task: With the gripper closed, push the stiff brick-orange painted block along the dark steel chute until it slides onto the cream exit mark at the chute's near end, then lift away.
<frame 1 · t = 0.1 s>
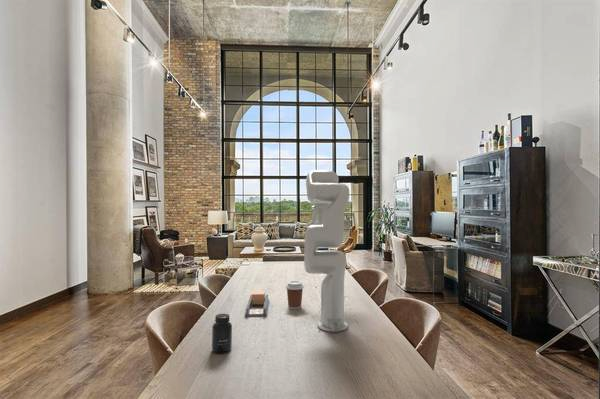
hand: (320, 239, 183), 31 cm above the table, tool pointing down, fingers open, 9 cm apart
coffee cup: (294, 307, 163), on the table
jammed block: (258, 297, 166), point 4 cm above the table, slide at 0.0 cm
steel chute: (257, 308, 161), on the table
supplement bottle: (221, 350, 116), on the table
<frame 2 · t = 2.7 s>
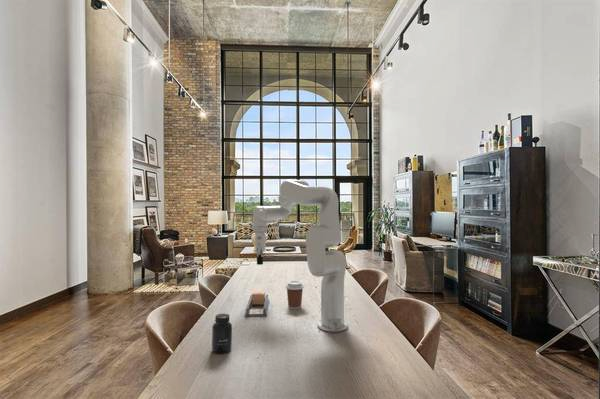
hand: (259, 264, 175), 19 cm above the table, tool pointing down, fingers closed
nothing on the table moved.
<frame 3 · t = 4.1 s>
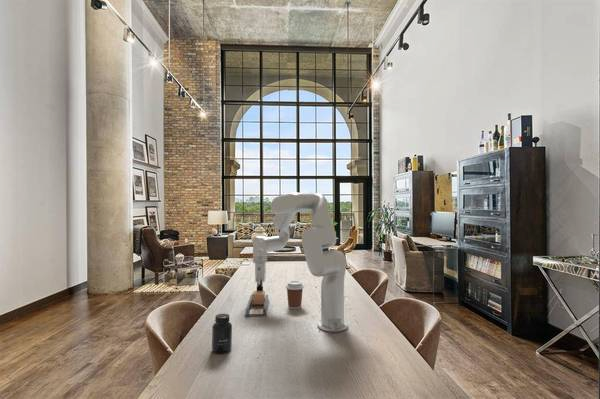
hand: (259, 294, 175), 3 cm above the table, tool pointing down, fingers closed
nothing on the table moved.
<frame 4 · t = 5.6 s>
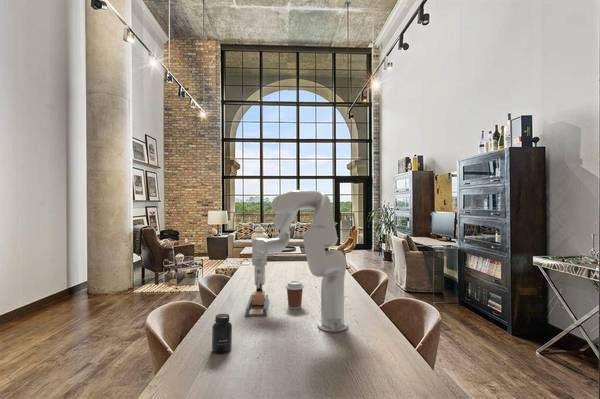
hand: (259, 297, 170), 3 cm above the table, tool pointing down, fingers closed
jammed block: (258, 298, 165), point 4 cm above the table, slide at 1.0 cm, touching gripper
everything else where it was.
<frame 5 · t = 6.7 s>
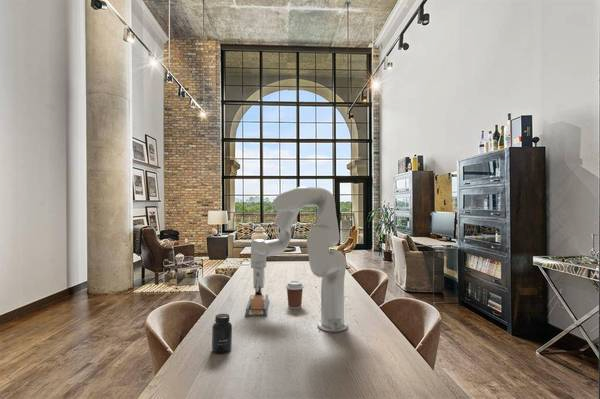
hand: (258, 301, 164), 3 cm above the table, tool pointing down, fingers closed
jammed block: (257, 302, 158), point 4 cm above the table, slide at 7.4 cm, touching gripper
everything else where it was.
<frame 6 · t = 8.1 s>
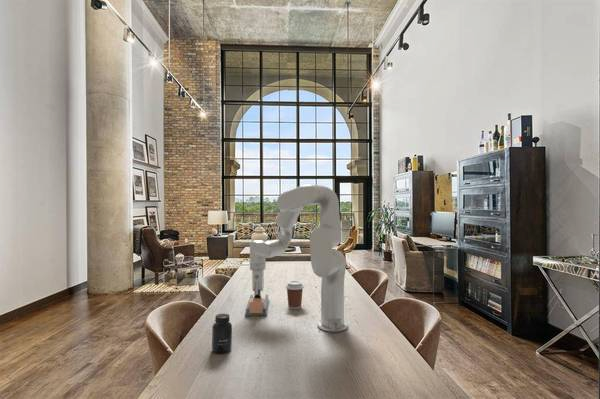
hand: (257, 304, 159), 3 cm above the table, tool pointing down, fingers closed
jammed block: (256, 305, 153), point 4 cm above the table, slide at 12.4 cm, touching gripper
everything else where it was.
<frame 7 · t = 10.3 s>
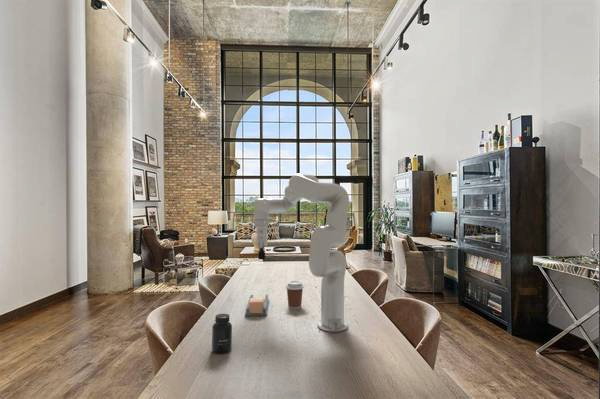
hand: (261, 259, 168), 23 cm above the table, tool pointing down, fingers closed
jammed block: (256, 305, 153), point 4 cm above the table, slide at 12.5 cm
everything else where it was.
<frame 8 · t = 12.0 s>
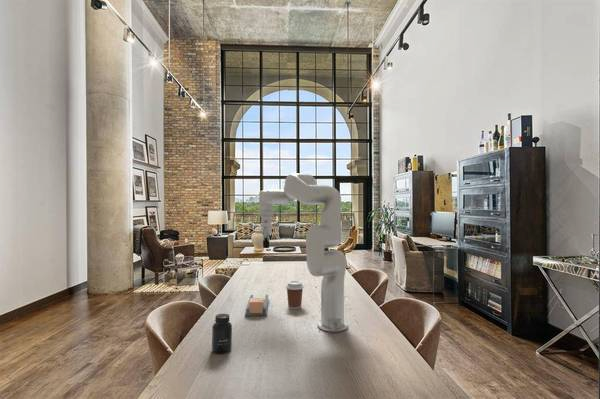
hand: (266, 247, 177), 27 cm above the table, tool pointing down, fingers closed
nothing on the table moved.
at the end: jammed block slide at 12.5 cm; coffee cup moved 0.2 cm from its start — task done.
